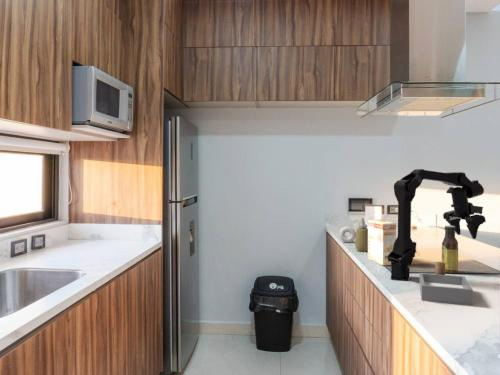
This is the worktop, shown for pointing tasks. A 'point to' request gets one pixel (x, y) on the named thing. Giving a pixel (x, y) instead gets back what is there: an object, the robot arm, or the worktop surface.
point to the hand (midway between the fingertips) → (466, 236)
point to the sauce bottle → (450, 250)
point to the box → (445, 289)
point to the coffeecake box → (380, 240)
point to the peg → (440, 268)
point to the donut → (350, 230)
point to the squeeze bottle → (361, 237)
